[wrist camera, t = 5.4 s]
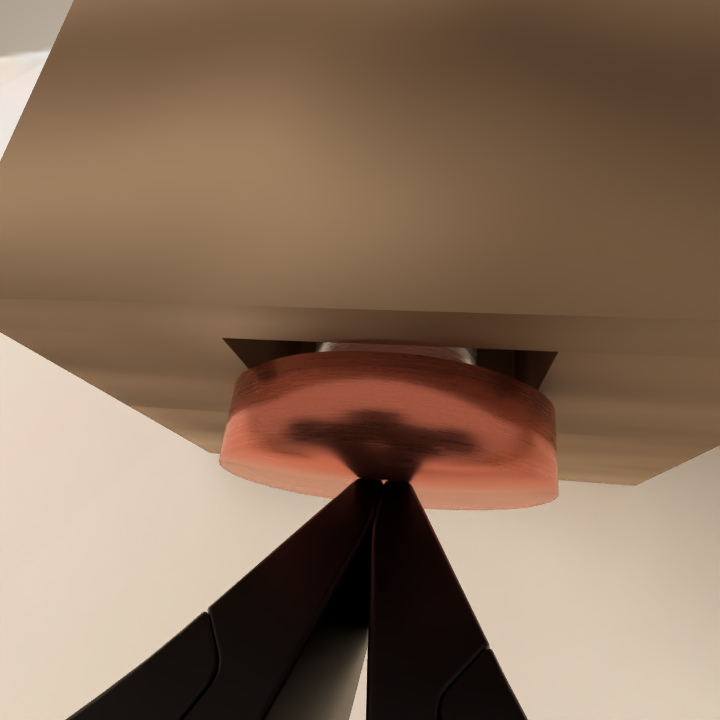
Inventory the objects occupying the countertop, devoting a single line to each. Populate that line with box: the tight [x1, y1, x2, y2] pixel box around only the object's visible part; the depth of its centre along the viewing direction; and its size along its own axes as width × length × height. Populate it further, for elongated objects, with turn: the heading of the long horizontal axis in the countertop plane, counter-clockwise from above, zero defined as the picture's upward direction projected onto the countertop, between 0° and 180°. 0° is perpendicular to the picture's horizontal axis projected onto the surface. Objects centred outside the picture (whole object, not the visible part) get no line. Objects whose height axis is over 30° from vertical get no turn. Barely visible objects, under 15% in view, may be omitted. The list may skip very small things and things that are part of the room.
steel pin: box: [219, 342, 558, 510], centre depth 11 cm, size 16×5×5 cm, turn 174°
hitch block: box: [0, 0, 720, 485], centre depth 12 cm, size 8×12×10 cm, turn 84°
